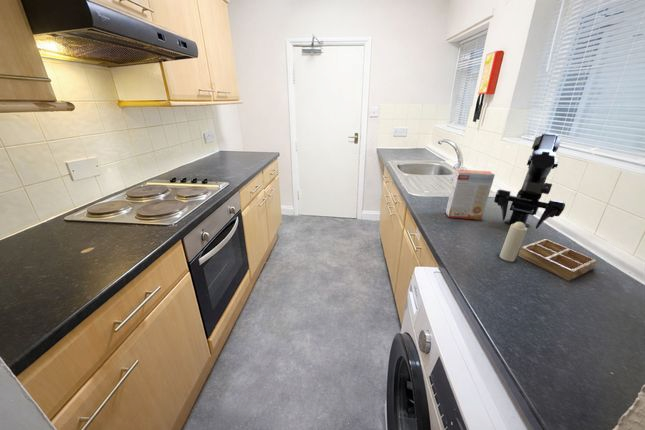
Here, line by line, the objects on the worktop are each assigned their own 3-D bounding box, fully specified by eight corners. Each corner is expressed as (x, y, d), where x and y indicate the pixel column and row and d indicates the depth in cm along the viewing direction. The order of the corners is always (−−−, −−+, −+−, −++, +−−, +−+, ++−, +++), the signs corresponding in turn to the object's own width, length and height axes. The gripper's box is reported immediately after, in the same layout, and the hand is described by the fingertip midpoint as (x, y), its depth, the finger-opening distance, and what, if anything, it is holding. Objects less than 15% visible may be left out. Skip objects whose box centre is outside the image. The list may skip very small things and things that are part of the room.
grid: (542, 246, 97) (545, 238, 96) (592, 268, 85) (597, 260, 84) (517, 255, 91) (521, 247, 90) (568, 280, 79) (573, 271, 78)
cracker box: (476, 215, 121) (490, 170, 113) (481, 220, 116) (496, 174, 107) (444, 212, 124) (455, 168, 115) (447, 217, 118) (459, 172, 109)
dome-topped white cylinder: (504, 253, 92) (517, 218, 87) (517, 259, 89) (532, 223, 83) (496, 256, 91) (509, 220, 85) (509, 262, 87) (523, 226, 81)
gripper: (505, 166, 90) (490, 205, 87) (577, 178, 80) (563, 222, 77) (501, 183, 99) (487, 219, 96) (565, 195, 89) (552, 236, 86)
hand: (519, 223), depth 88 cm, fingers open, 9 cm apart
